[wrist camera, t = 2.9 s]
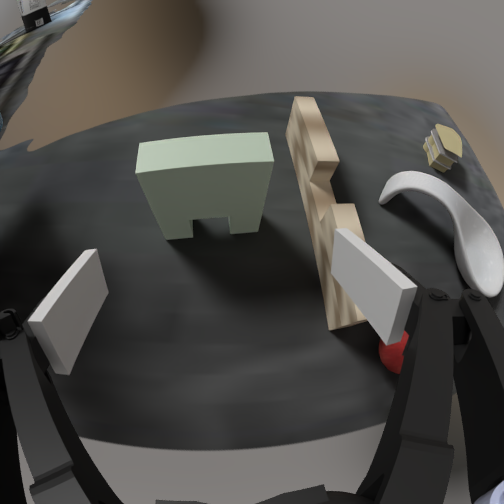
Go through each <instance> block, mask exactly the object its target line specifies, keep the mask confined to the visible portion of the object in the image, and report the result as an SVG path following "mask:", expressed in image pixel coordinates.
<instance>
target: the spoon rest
mask: <svg viewBox="0 0 504 504" xmlns="http://www.w3.org/2000/svg"><path fill="white" fill-rule="evenodd" d="M405 191H416V192H421V193H423V194H426V195H428V196H430V197H432V198H434V199H436V200H437V201H439V202H440V203H441V204H442V205H443V206H444V207H445V208H446V209H447V211H448V212H449V214H450V216H451V219H452V222H453V229H454V252H455V258H456V263H457V266H458V269H459V271H460V273H461V275H462V277H463V278H464V280H465V282H466V283H467V284H468V285H469V287H470V288H472V289H476V290H478V291H480V292H481V293H482V294H483V295H484V296H486V297H494V296H496V295H497V294H498V293H499V292H500V291H501V289H502V286H503V282H504V259H503V254H502V250H501V247H500V244H499V242H498V239H497V237H496V235H495V234H494V232H493V230H492V229H491V227H490V226H489V225H488V223H487V222H486V221H485V220H484V219H483V218H482V217H481V216H480V215H479V214H478V213H477V212H476V211H475V210H474V209H473V208H472V207H471V206H470V205H469V204H468V203H467V202H466V201H465V200H464V199H463V198H462V197H461V196H460V195H459V194H458V193H457V192H456V191H455V190H454V189H452V188H451V187H450V186H449V185H448V184H446V183H445V182H443V181H441V180H440V179H438V178H436V177H434V176H431V175H429V174H425V173H422V172H417V171H405V172H400V173H398V174H395V175H394V176H392V177H391V178H390V179H389V180H388V181H387V183H386V185H385V187H384V189H383V191H382V194H381V196H380V198H379V203H380V204H382V205H383V204H385V203H387V202H388V201H389V200H391V199H392V198H393V197H394V196H395V195H397V194H399V193H401V192H405Z"/></svg>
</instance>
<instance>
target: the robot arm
mask: <svg viewBox="0 0 504 504" xmlns="http://www.w3.org/2000/svg"><path fill="white" fill-rule="evenodd" d="M2 123H3V121H2V116H1V113H0V131H1V128H2ZM331 274H332V275H333V276H334V278H335V279H336V280H337V281H338V283H339V284H340V285H341V286H342V288H343V289H344V290H345V292H346V293H347V294H348V295H349V297H350V298H351V299H352V301H353V302H354V303H355V304H356V306H357V307H358V308H359V310H360V311H361V312H362V314H363V315H364V316H365V318H366V319H367V320H368V322H369V323H370V324H371V326H372V327H373V328H374V330H375V331H376V332H377V334H378V335H379V336H380V338H381V339H382V340H383V342H384V343H385V344H386V346H387V345H390V344H394V343H397V342H401V339H402V336H403V333H404V330H405V331H406V333H407V334H408V335H409V337H408V340H407V343H406V345H405V348H404V351H403V353H402V356H404V358H403V363H402V367H401V372H400V376H399V380H398V384H397V388H396V392H395V395H394V399H393V402H392V406H391V409H390V413H389V416H388V419H387V422H386V425H385V428H384V431H383V434H382V438H381V440H380V443H379V446H378V448H377V451H376V454H375V456H374V459H373V461H372V464H371V466H370V469H369V471H368V473H367V475H366V477H365V478H364V480H363V482H362V483H361V485H360V487H359V488H358V490H357V492H356V494H352V493H347V492H340V491H326V490H325V487H324V485H319V486H315V487H311V488H307V489H302V490H298V491H293V492H288V493H283V494H280V495H278V496H276V497H273V498H270V499H268V500H265V501H262V502H259V503H257V504H443V501H444V498H445V494H446V490H447V486H448V482H449V478H450V473H451V468H452V463H453V457H454V448H453V446H452V445H448V444H447V437H448V429H449V422H450V414H451V402H452V390H453V377H454V381H455V386H456V390H457V395H458V400H459V405H460V411H461V416H462V423H463V430H464V437H465V445H466V455H467V470H468V483H469V492H470V497H471V503H472V504H504V328H503V326H502V324H501V322H500V321H499V319H498V317H497V315H496V313H495V312H494V310H493V308H492V307H491V305H490V303H489V302H488V300H487V298H486V297H485V296H484V295H483V294H482V293H481V292H480V291H478V290H476V289H465V290H463V292H462V295H461V298H460V299H450V297H449V295H448V294H447V293H445V292H443V291H442V290H439V289H434V288H429V289H426V288H425V287H423V286H422V285H421V284H420V283H419V282H418V281H416V280H415V279H414V278H412V276H411V275H409V274H408V273H407V272H406V271H405V270H403V269H402V268H401V267H399V266H397V265H395V264H393V263H390V262H388V261H387V260H386V259H385V258H384V257H382V256H381V255H380V254H379V253H378V252H376V251H375V250H374V249H373V248H371V247H370V246H369V245H368V244H366V243H365V242H364V241H363V240H361V239H360V238H359V237H358V236H356V235H355V234H354V233H353V232H351V231H350V230H349V229H347V228H340V229H335V231H334V244H333V255H332V266H331ZM108 293H109V292H108V289H107V285H106V282H105V278H104V275H103V271H102V267H101V263H100V260H99V256H98V251H97V249H92V250H85V251H84V252H83V253H82V254H81V256H80V257H79V258H78V259H77V260H76V261H75V262H74V263H73V265H72V266H71V267H70V268H69V269H68V270H67V272H66V273H65V274H64V275H63V276H62V277H61V279H60V280H59V281H58V282H57V284H56V285H55V286H54V287H53V288H52V290H51V291H50V292H49V293H48V295H46V296H45V297H44V298H42V299H41V300H40V301H39V303H38V304H37V305H36V307H35V308H34V309H33V311H32V312H31V313H30V315H29V316H28V317H27V319H26V320H25V321H24V323H23V324H22V323H21V321H20V319H19V317H18V315H17V313H16V311H15V309H6V310H3V311H1V312H0V504H27V502H26V497H25V493H24V488H23V483H22V477H21V470H20V462H19V454H18V443H17V433H18V436H19V440H20V443H21V446H22V449H23V452H24V455H25V458H26V460H27V463H28V465H29V468H30V471H31V473H32V476H33V478H34V481H35V483H34V484H32V485H30V489H29V490H30V493H31V496H32V498H33V501H34V502H35V504H124V503H122V502H121V500H120V499H119V498H118V497H117V496H116V494H115V493H114V492H113V490H112V489H111V488H110V487H109V485H108V483H107V482H106V481H105V479H104V478H103V476H102V475H101V473H100V472H99V471H98V469H97V467H96V466H95V464H94V463H93V461H92V459H91V458H90V456H89V454H88V453H87V451H86V449H85V448H84V446H83V444H82V442H81V440H80V439H79V437H78V435H77V433H76V431H75V429H74V427H73V425H72V423H71V421H70V419H69V417H68V415H67V413H66V411H65V409H64V407H63V405H62V403H61V400H60V398H59V396H58V393H57V391H56V389H55V386H54V384H53V381H52V379H51V376H50V374H49V373H48V371H47V368H48V366H49V364H50V365H51V367H52V368H53V370H54V372H55V373H56V374H65V375H70V373H71V370H72V368H73V365H74V363H75V361H76V358H77V356H78V354H79V352H80V349H81V347H82V345H83V343H84V341H85V339H86V336H87V334H88V332H89V330H90V328H91V326H92V324H93V322H94V320H95V318H96V316H97V314H98V312H99V310H100V308H101V306H102V304H103V302H104V300H105V298H106V296H107V295H108ZM156 504H206V503H201V502H197V501H165V500H164V501H163V500H156Z"/></svg>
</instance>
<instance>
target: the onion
mask: <svg viewBox="0 0 504 504" xmlns="http://www.w3.org/2000/svg"><path fill="white" fill-rule="evenodd" d="M408 337H409V335H408V334H407V333H406V331H405V330H404V333H403V336H402V339H401V342H397V343H394V344H390V345H387V346H386V344H385V343H384V342H383V340H382V339H380V342H379V355H380V358H381V361H382V363H383V364H384V365H385V366H386V368H387V369H388V370H390V371H392V372H394V373H397V374H400V372H401V367H402V363H403V358H404V356H402V353H403V351H404V348H405V345H406V343H407V340H408Z"/></svg>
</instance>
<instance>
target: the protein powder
mask: <svg viewBox="0 0 504 504" xmlns="http://www.w3.org/2000/svg"><path fill="white" fill-rule="evenodd" d="M16 1H17V4H18V8H19V11H20V14H21V16H22V20H23V23H24V26H25V30H26V31H31V30H33V29H36V28H38V27H40V26H43V25H45V24H47V23H49V22H51V18H50V15H49V12H48V9H47V6H46V2H45V0H16Z"/></svg>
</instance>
